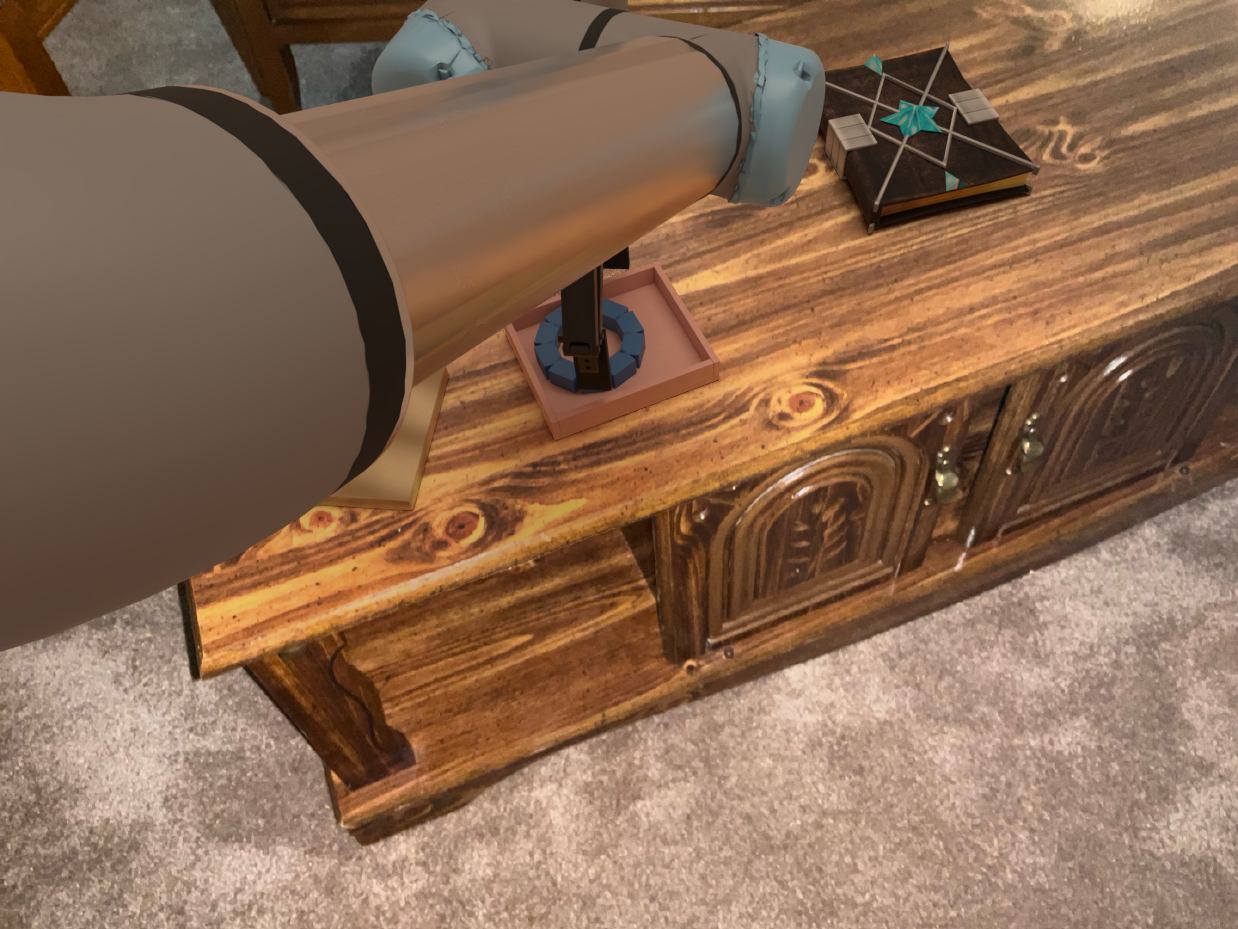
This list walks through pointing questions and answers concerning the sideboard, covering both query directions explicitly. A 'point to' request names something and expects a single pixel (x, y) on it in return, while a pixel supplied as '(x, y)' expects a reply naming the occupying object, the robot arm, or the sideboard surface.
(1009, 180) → the book
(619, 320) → the ring
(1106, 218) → the sideboard surface
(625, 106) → the robot arm
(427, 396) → the tan post with base
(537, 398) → the tray
